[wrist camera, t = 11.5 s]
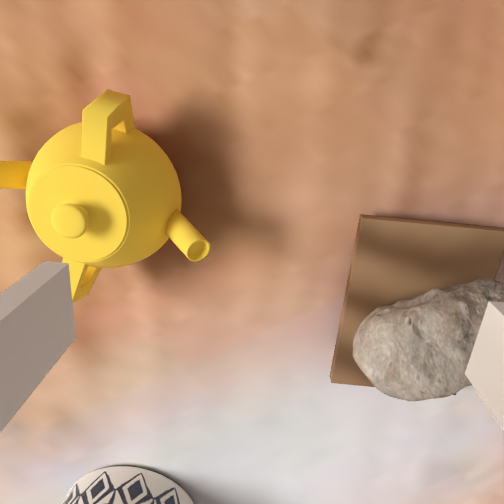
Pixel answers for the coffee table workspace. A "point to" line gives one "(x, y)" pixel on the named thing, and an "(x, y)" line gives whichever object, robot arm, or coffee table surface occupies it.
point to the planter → (126, 488)
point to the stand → (407, 272)
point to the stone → (424, 340)
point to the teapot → (103, 194)
